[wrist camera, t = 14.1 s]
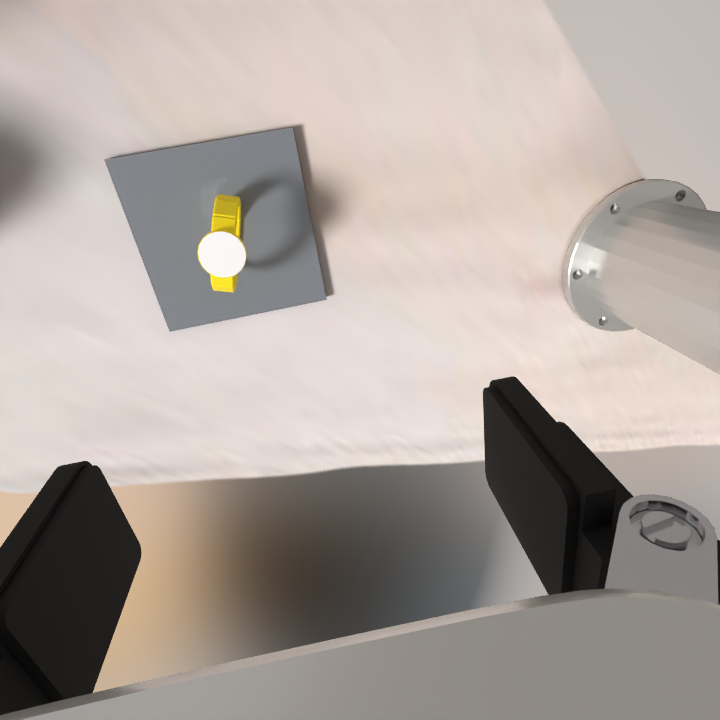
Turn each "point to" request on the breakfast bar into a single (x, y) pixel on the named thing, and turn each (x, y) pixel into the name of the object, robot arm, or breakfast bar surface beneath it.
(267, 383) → the breakfast bar surface
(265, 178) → the slate coaster
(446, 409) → the breakfast bar surface
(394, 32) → the breakfast bar surface
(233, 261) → the watch
